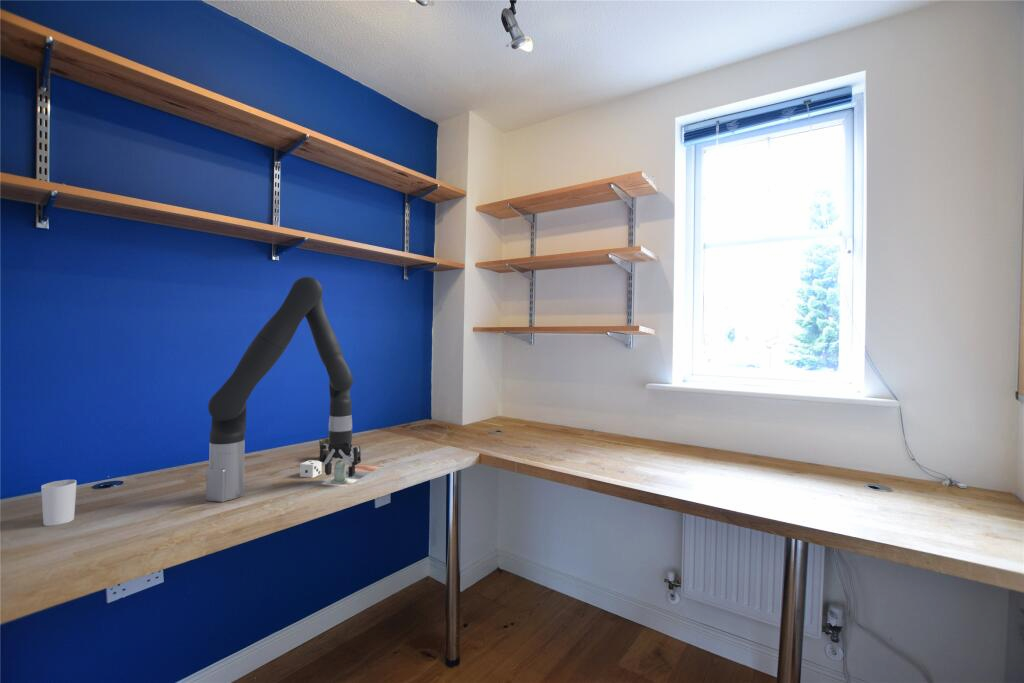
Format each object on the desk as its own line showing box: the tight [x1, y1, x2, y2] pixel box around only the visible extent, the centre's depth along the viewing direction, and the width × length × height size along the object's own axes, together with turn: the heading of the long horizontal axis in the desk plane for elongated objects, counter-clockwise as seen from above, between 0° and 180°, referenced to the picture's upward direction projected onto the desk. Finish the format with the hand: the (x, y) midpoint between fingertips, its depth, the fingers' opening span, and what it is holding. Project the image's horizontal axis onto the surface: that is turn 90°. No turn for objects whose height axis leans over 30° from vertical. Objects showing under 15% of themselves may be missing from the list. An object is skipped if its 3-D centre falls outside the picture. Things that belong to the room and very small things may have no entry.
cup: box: [318, 437, 330, 456], centre depth 181 cm, size 8×7×8 cm
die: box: [299, 459, 323, 479], centre depth 159 cm, size 5×5×5 cm
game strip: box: [321, 463, 385, 488], centre depth 161 cm, size 25×11×1 cm, turn 168°
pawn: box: [332, 459, 349, 484], centre depth 153 cm, size 5×5×7 cm
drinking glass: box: [40, 479, 78, 527], centre depth 118 cm, size 7×7×10 cm
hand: (339, 475), depth 153 cm, fingers open, 8 cm apart
